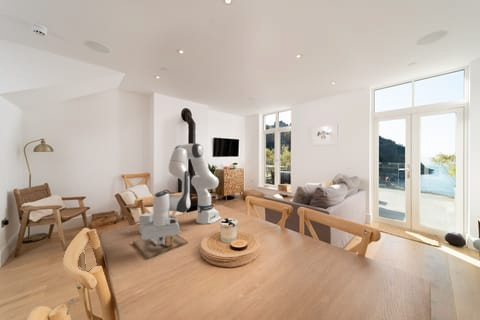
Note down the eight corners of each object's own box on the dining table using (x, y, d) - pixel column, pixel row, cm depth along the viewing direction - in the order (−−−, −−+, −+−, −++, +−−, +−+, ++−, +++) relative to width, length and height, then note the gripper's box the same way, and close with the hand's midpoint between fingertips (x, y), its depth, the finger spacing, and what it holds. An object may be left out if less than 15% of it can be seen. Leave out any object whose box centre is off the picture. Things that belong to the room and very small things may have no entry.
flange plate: (150, 240, 113) (150, 231, 113) (164, 236, 119) (164, 227, 119) (160, 250, 102) (160, 239, 102) (175, 244, 108) (176, 234, 108)
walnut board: (170, 232, 130) (170, 221, 130) (187, 243, 114) (188, 231, 114) (133, 243, 112) (133, 232, 112) (147, 259, 96) (148, 245, 96)
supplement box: (149, 233, 127) (149, 216, 127) (139, 233, 127) (139, 215, 127) (154, 229, 134) (154, 212, 134) (144, 229, 134) (144, 212, 134)
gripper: (140, 225, 96) (140, 250, 96) (180, 219, 105) (179, 243, 106) (140, 221, 102) (140, 245, 102) (178, 216, 111) (178, 238, 111)
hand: (160, 244), depth 104 cm, fingers closed
